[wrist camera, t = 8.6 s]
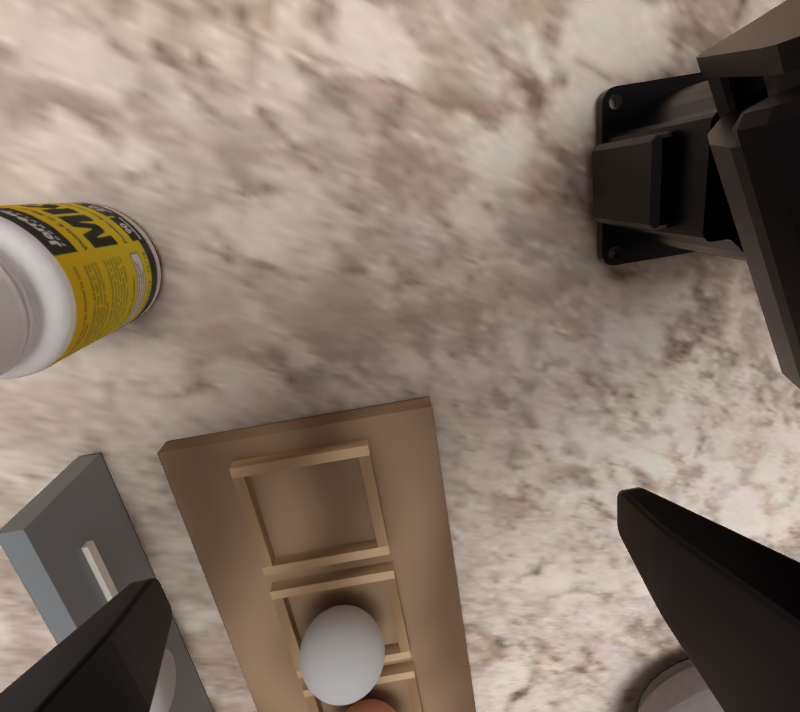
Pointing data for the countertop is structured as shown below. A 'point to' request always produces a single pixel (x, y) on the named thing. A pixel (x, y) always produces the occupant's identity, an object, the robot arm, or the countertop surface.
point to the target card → (91, 567)
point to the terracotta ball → (370, 706)
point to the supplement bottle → (68, 280)
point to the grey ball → (342, 655)
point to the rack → (329, 548)
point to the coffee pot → (679, 692)
